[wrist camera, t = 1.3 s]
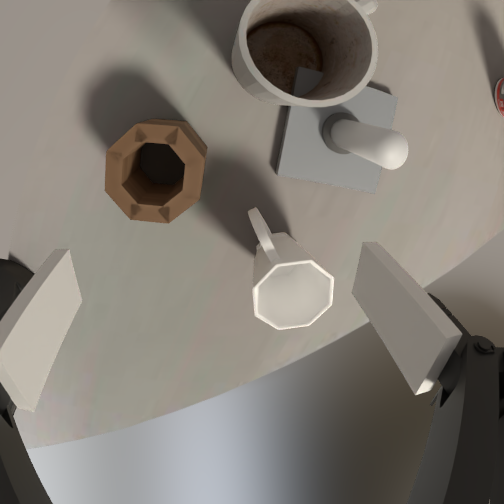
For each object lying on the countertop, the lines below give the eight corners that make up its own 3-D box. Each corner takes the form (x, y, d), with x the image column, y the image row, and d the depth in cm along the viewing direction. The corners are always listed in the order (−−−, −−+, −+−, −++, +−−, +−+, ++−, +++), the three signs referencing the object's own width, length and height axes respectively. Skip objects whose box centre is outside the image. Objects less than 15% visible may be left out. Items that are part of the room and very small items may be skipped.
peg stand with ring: (275, 173, 28) (303, 209, 19) (296, 67, 24) (337, 52, 15) (370, 190, 30) (425, 230, 21) (392, 97, 25) (459, 104, 16)
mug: (262, 121, 26) (286, 132, 17) (212, 43, 22) (209, 12, 13) (373, 67, 24) (436, 61, 15) (329, -8, 20) (377, -45, 12)
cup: (260, 291, 34) (272, 342, 27) (214, 214, 29) (213, 254, 22) (320, 262, 33) (346, 308, 26) (281, 179, 28) (304, 209, 21)
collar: (125, 194, 27) (104, 217, 22) (130, 117, 24) (108, 122, 19) (200, 201, 28) (196, 226, 23) (210, 123, 25) (209, 129, 20)
